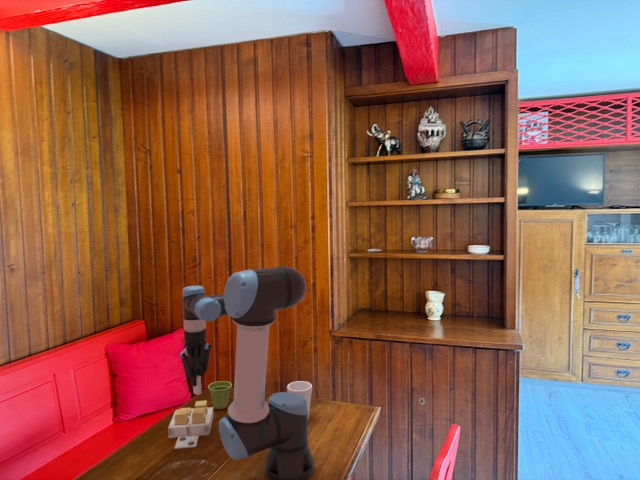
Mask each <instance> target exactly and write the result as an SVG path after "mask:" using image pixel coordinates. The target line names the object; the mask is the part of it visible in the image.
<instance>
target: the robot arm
mask: <svg viewBox="0 0 640 480" xmlns="http://www.w3.org/2000/svg"><path fill="white" fill-rule="evenodd" d="M306 292H307V282H306V278H305V277H304V275H302V273H301V272H299V270H297V269H295V268H293V267H291V266H290V267H289V266H284V265H283V266H277V267H276V266H275V267H267V268H259V269H257V268H256V269H245V270H241V271H236V272H234V273H232V274H231V276H229V277H228V279H227V281H226V284H225V286H224V291H223V293H221V294H214V295H212V294H211V295H205V294H206V292H205V288H204V286H202V285H189V286H185V287H183V289H182V297H181V299H182V309H183V310H182V316H183V330H184V331H183V338H184V339H183V341H184V343H185V344H184V347H183V348H184V349H183V350H182V351H180V352H178V356H179V357H180V359H181V362H182V365H183V369H184V373H185V376H186V377H188V378H190V381H191V383H190V384H191V386H192V388H193V389H192V390H193V391H192V392H193V394H194V395H196V396H199V395H201V394H202V384H203V382H204V381H203V377H204V376H205V373H207V371H208V366H209V360H210V353H211V350H212V348H213V345H212V344H210V343H207V341H206V339H207V330H206V327H207V325H206V322H212V321H216V319H219V317H220V318H221V317H224V316H229V317H230V318H231V321H232V322H233V323H234V325H236V340H235V341H236V342H235V344H236V345H235V363H234V364H235V366H234V387H233V389H234V390H233V401H232V402H231V403H230V404H228V406H227V414H226V415H227V416H226V417H222V418H221V419H220V420H219V422H218V431H219V436H220V437H219V438H220V440H221V442H222V446H223V447H224V450H225V452H226V453H227V455H228V456H229V458H230V459H232V460H234V461H238V460H241V459H244V458H245V459H246V458H249V457H250V456H253V455H255V454H258V453H260V452H263V451H265V450H268V451H267V455H266V459H265V461H264V475H265V477H266V478H267V480H308V479H309V478H311V477H312V476H313V474H314V471H315V461H314V457H313V454H312V452H311V449H310V446H309V434H308V433H309V431H308V430H309V427H308V425H309V423H308V422H309V419H308V417H307V414H308V410H307V402H306V400H305V399H304V398H303V397H302V396H300V395H298V394H295V393H289V392H287V391H284V392H283V391H282V392H281V391H280V392H275V393H272V394H271V395H270V396H269V397H268V399H267V402H268V403H267V402H266V401H265V400H266V399H265V398H266V381H267V370H268V369H267V367H268V350H269V336H270V334H269V333H270V326H271V325H273V324H274V323H275V322H276V315H277V314H276V313H277V311H279V310H280V311H281V310H285V309H289V308H291V307H295V306H296V305H298V304H299V303H300V302H301V301H303V299H304V297H305V296H306Z"/></svg>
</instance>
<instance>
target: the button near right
mask: <svg viewBox="0 0 640 480" xmlns="http://www.w3.org/2000/svg"><path fill="white" fill-rule="evenodd" d="M192 409H193V408H192ZM204 421H205V408H195V407H194V409H193V412H192V424H199V423H204Z"/></svg>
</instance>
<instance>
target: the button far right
mask: <svg viewBox="0 0 640 480" xmlns="http://www.w3.org/2000/svg"><path fill="white" fill-rule="evenodd" d="M207 407H208V400H196V401H195V403H194V408H205V415H206V414H207Z"/></svg>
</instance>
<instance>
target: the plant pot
mask: <svg viewBox="0 0 640 480" xmlns="http://www.w3.org/2000/svg"><path fill="white" fill-rule="evenodd" d="M232 386H233V384H232V382H230V381H227V380H226V381H225V380H220V381H219V380H218V381H214V382H211V383H210V384H208V386H207V389H208V390H209V393H210V398H211V404H212V405H211V406H212V407H213V410H223V409H226V408H228V407H229V400H230V392H231V388H232Z"/></svg>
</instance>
